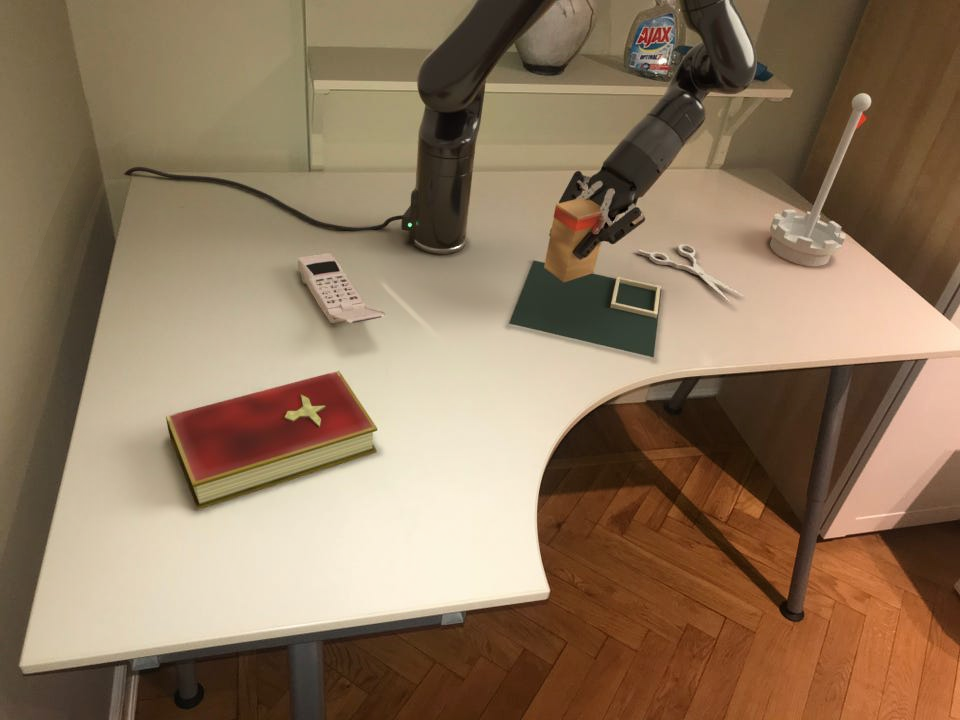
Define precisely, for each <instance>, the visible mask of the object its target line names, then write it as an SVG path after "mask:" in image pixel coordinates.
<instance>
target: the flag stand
mask: <svg viewBox="0 0 960 720" xmlns="http://www.w3.org/2000/svg"><path fill="white" fill-rule="evenodd" d="M871 104H872V98H871V96H870V95H869V94H867V93H864V92H863V93H862V92H861V93H858V94H856V95H855V96H854V97H853V98H852V101H851V107H852V111H851V114H850V116H849V119H848V121H847V124H846V126H845V129H844V131H843V134H842V136H841V139H840V141H839V144H838V145H837V148H836V150H835V152H834V156H833V157H832V160H831V163H830V165H829V167H828V169H827V171H826V174H825V177H824V179H823V182H822V184H821V187H820V189H819V192H818V194H817V195H816V198H815V201H814V204H813V206H812V208H811V211H806V213H805V215H800V214H799V215H797V213H798V212H797V211H796V209H783V210H782V212H781V214H779V213H775V214H774V216H773V219H772V222H771V224H770V228H769V230H770V234H771V235H772V237H771V240H770V243H769V246H770V248H771V251H773V252H774V254H776V255H777V256H779V257H781V258H782V259H784V260H785V261H788V262H791V263H793V264H797V265H801V266H806V267H820V266H824V265H826V264H828V263H829V262H830V259H831V256H832V255H833V254H836V253H838V252H840V250H841V249H842V246H843V244H844V242H845V240H846V238H847V234H846V233H844V232H840V231H841V230H842V229H843V228H842V226H841V225H840V224H838V223H837V222H835V221H834V220H831V221H828V223H825V222H823V221H820V218H821V211H822V209H823V207H824V205H825V202H826V200H827V197H828V195H829V193H830V190H831V189H832V186H833V184H834V180H835V178H836V176H837V174H838V172H839V169H840V167H841V164H842V162H843V159H844V157H845V155H846V152H847V150H848V147H849V145H850V143H851V140H852V139H853V136H854V133H855V131H856V130H857V129H858V128H859V127H861V125H862V124H863V123H864V122H865V121H866V120H867V119H868V118H867V116H866V115H865V114H864V113H863V112H865V111H867V110H868V109H869V108H870V107H871Z"/></svg>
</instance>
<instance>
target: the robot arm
mask: <svg viewBox="0 0 960 720" xmlns="http://www.w3.org/2000/svg"><path fill="white" fill-rule="evenodd" d="M558 1H559V0H475V2H474V4H473V5H472V7H471V9H469V12H468V13H467V15H465V17H464V19H462V21H461V22H460V23H459V24H458V25H457V26H456V27H455V29H453V31H452V32H451V33H450V34H449V35H448V36H447V37H446V38H445V39H444V40H443V41H441V42H439V43H438V44H437V45H436V46H435V47H434V48H433V49H432V50H431V51H430V52H429V53H428V54H427V55H426V56H425V57H424V59H423V61H422V62H421V64H420V67H419V69H418V73H417V80H416V86H417V91H418V94H419V98H420V100H421V102H422V103H423V104H424V109H423V113H422V114H423V115H422V118H421V122H420V125H419V129H418V137H417V153H416V154H417V155H416V169H415V171H416V172H415V185H414V188H413V190H412V191H411V193H410V204H409V206H408V208H407V209H406V210H405V212H404V213H403V214H399V215H394V216H391V217H389V218H387V219H386V220H385V221H384V222H383V223H381V224H378V225H373V226H365V227H352V226H345V225H338V224H332V223H327V222H323V221H321V220H317V219H314V218H313V217H310V216H308V215H307V214H305V213H303V212H302V211H299V210H297V209H296V208H293V207H291V206H290V205H287V204H286V203H284V202H282V201H280V200H278V199H277V198H275V197H273V196H271V194H268V193H266V192H264V191H261V190H258V188H257V189H256V188H254V187H251V186H249V185H247V184H243V183H240V182H237V181H234V180H229V179H225V178H220V177H214V176H203V175H202V176H201V175H188V174H187V175H186V174H173V173H167V172H163V171H159V170H156V169H153V168H149V167H146V166H145V167H143V166H135V167H131V168H129V169H127V170H126V171H124V173H123V175H125V176H129V175H130V174H133V173H135V172H145V173H150V174H153V175H157V176H161V177H164V178H169V179H175V180H176V179H177V180H191V181H207V182H215V183H222V184H227V185H230V186H233V187H238V188H241V189H244V190H246V191H249V192H252V193H253V194H256V195H259V196H261V197H263V198H265V199H267V200H269V201H271V202H273V203H274V204H276V205H277V206H279V207H281V208H283V209H285V210H287V211H289V212H291V213H293V214H295V215H296V216H298V217H300V218H302V219H303V220H305V221H308V222H309V223H312V224H314V225H317V226H320V227H322V228H327V229H332V230H338V231H345V232H361V231H362V232H364V231H377V230H381V229H384V228H386V227H387V226H388V225H389V224H390V223H391V222H395V221H401V231H404V232H408V241H407V243H408V244H410V245H413V246H415V247H416V248H417V249H419V250H421V251H423V252H426V253H429V254H435V255H449V254H450V255H451V254H455V253H458V252H460V251H462V250H463V249H464V248H465V246H466V242H467V227H468V220H469V208H470V201H471V192H472V191H471V190H472V183H473V182H472V180H473V172H474V163H475V155H476V146H477V139H478V135H479V131H480V128H481V122H482V114H483V107H484V99H485V93H486V92H485V91H486V83H487V78H488V77H489V76H490V74H491V72H492V71H493V70H494V69H495V67H496V66H497V64H498V63H499V62H500V60H501V59H502V58H503V57H504V56H505V54H506V53H507V52H508V51H509V49H511V47H512V46H513V45H514V44H515V43H517V41H519V40H520V39H521V38H522V37H524V35H525V34H526V33H527V32H528V31H530V29H532V27H534V26H535V25H536V24H537V22H539V21H540V20H541V19H542V18H543V16H545V14H547V12H548V11H549V10H550V9H551V8H552V7H554V5H555V4H556V3H557V2H558ZM677 5H678V8H679V13H680V16H681V19H682V22H683V25H684V27H686V28H687V30H689V31H692V32H693V33H695V34H696V35H698V37H700V39H701V41H700V42H698V43H696V44H695V45H694V46H693V47H691V49H689V50H688V51H687V53H686V54H685V55H684V57H683V58H682V60H681V61H680V63H679V64H678V66H677V68H676V70H675V72H674V74H673V76H672V78H671V79H670V81H669V84H668V85H667V88H666V90H665V92H664V94H663V95H662V96H661V97H660V98H659V99H658V100H657V101H656V103H655V104H654V105H653V106H652V107H651V108H650V110H649V111H648V112H647V113H646V115H645V116H643V117H642V119H640V120H639V121H638V122H637V123H636V124H635V125H634V126H633V127H632V128H631V129H630V130H629V131H628V133H627V134H626V135H625V137H623V138H622V139H621V141H620V142H619V143H618V144H617V145H616V146H615V148H614V149H613V150H612V151H611V152H610V154H609V155H608V156H607V158H605V159H604V161H603V162H602V166H601V168H600V170H599V171H597V172H596V173H595V174H593V175H591V176H589V175H584V174H583V173H582V171H581V170H576V171H574V173H573V174H572V177H571V178H570V181H569V182H568V184H567V186H566V188H565V190H564V191H563V193H562V195H561V196H560V199H559V201H558V204H559V203H563V202H567V201H571V200H575V199H579V198H582V199H584V200H589V199H590V200H591V201H593V202H595V203H596V204H598V205H599V206H601V208H600V210H601V211H602V213H601V215H600V217H599V220H598V221H597V223H596V224H595V225H594V227H593V229H592V233H590V232H588V233H587V235H586V236H585V237H584V238H583V239H582V240H581V242H580V243H579V244H578V245H577V246H576V247H575V249H574V250H573V254H574V255H575V256H576V257H577V258H578V259H580V260H581V259H583V258H586V257H587V256H589V254H590V253H591V252H592V251H593V250H594V249H595V247H596V246H597V245H598V244H599V243H600V242H601V243H603V242H607V243H609V244H610V245H615V244H617V243H618V242H619V241H620V240H622V239H623V238H625V237H626V236H627V235H629V234H630V233H632V232H633V231H634V230H635V229H637V228H638V227H639V226H641V225H643V223H645V221H646V217H645V215H644V213H643V211H642V210H641V208H640V207H638V206H637V202H638V200H639V198H643V197H644V196H645V195H646V194H647V193H648V191H650V189H651V188H652V187H653V186H654V184H655V183H656V182H657V181H658V180H659V178H660V177H661V176H663V174H664V173H665V171H666V170H667V169H668V168H669V167H670V166H671V165H672V164H673V162H674V161H675V159H676V158H677V156H678V155H679V153H680V152H681V151H682V149H683V148H684V147H685V145H686V144H688V142H689V141H690V140H691V139H692V138H693V136H694V135H695V134H696V133H697V132H698V131H699V129H700V128H701V127H702V125H703V124H704V123H705V120H706V118H707V109H706V108H705V105H704V104H703V101H704V100H705V98H706V97H707V96H708V95H709V94H710V93H716V94H722V95H736V94H740V93H742V92H744V91H745V90H747V89H748V88H749V87H750V85H751V83H753V81H754V78H755V75H756V73H757V66H758V56H757V50H756V46H755V43H754V40H753V38H752V35H751V33H750V31H749V29H748V27H747V24H746V22H745V21H744V17H743V16H742V14H741V12H740V11H739V9H738V6H737V5H736V2H735V0H677ZM622 214H624V215H623V216H621V217H620V218H619V216H620V215H622ZM603 226H604V227H603ZM551 229H552V227H551V228H550V229H549V235H548V236H549V237H550V234H551Z"/></svg>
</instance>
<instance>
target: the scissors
mask: <svg viewBox="0 0 960 720" xmlns="http://www.w3.org/2000/svg"><path fill="white" fill-rule="evenodd" d="M685 249H686V250H688V251H690V252H687V251H685ZM696 251H697V250H696V249H695V248H694V247H693V246H692V245H689V244H685V243H682V244H679V245H678V246H677V252H678V254H679V255H680V256H682V257H686V258H688V259H689V260H690V261H691V264H692V266H691V265H688V264H681V263H679V262H676V261H674V260H672V259H671V258H670V257H669V255H668V254H666V253H663V252H659V251H652V252H649V251H645V250H643V249H639V250H638V252H637V253H638V255H640V256H641V255H642V256H645V257H647V258H648V259H649V260H650V261H651V262H653V263H654V264H657V265H661V266H671V267H674V268H676V269H681V270H685V271H687V272H688V273H691V274H693V275H696V276H699V278H701V279H702V280H703V281H704V282H705V283H706V284H707V285H708V286H709V287H711V288H712V290H714V291H715V292H716V293H717V294H719V295H720V296H721V298H723V299H725V301H727V302H728V303H730V304H731V305H733V303H732V302H731V301H730V300H729V299H728V297H726V295H725V294H724V293H723V292H722V291H721V290H720V288H718V286H717V285H719V286H720V287H723V288H725V289H727V290H729V291H731V292H734V293H735V294H738V295H739V296H742V297H744V298H746V299H748V297H747V296H746V295H743V294H742V293H740V292H739V291H737V290H735V289H733V288H732V287H730V286H728V285H727V284H725V283H723V281H720V280H718V279H717V278H714V277H713V276H711V275H710V274H708V273H706V271H705V270H704V269H703V268H702V267H701V266H700V265H699V264H698V263H697V258H695V256H696ZM657 257H658V258H661V259H658V258H657Z"/></svg>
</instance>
